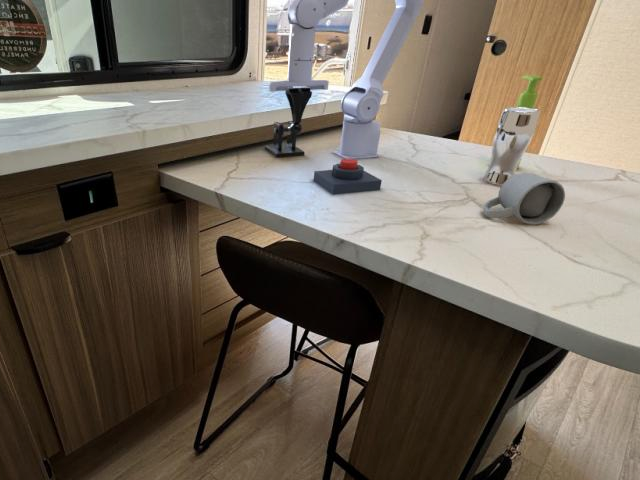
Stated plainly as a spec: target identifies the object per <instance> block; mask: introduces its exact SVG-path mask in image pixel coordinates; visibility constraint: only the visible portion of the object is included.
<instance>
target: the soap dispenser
mask: <svg viewBox="0 0 640 480" xmlns="http://www.w3.org/2000/svg"><path fill="white" fill-rule="evenodd" d="M521 79H522V80H529V81H528V83H527V86H526V89H525V90H524V91H523V92H520V94H519V98H518V100H517V104H516V106H515V107H525V108H533V109H534V106H535V103H536V101H537V98H538V95H539V93H537V91H536V88H537V86H538V82H542V81H543V77H541V76H539V75H523V76H521ZM521 161H522V158H521V159H520V161H519V163H518V165H517V168H516V171H517V170H518V169H519V166H520V163H521Z"/></svg>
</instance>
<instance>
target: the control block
mask: <svg viewBox="0 0 640 480" xmlns="http://www.w3.org/2000/svg"><path fill="white" fill-rule="evenodd" d="M313 172H314V173H313V182H315V184H317V185H319V186H320V187H322V188H323V189H324V190H325V191H327V192H328V193H330V194H331V195H333V196H334V195H344V194H354V193H356V194H357V193H364V192H365V193H366V192H374V191H376V192H377V191H380V190H381V187H382V181H383V180H382V179H380V178H378V177H377V176H375V175H373V174H371V173H369V172H367V171H366V170H365V167H364V166H362V165H361V164H357V169H356V170H344V169H340V163H336V164H333V165H332V169H325V170H315V171H313Z"/></svg>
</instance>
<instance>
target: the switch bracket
mask: <svg viewBox="0 0 640 480" xmlns="http://www.w3.org/2000/svg"><path fill="white" fill-rule="evenodd" d="M293 123H294V122H293V120H292V121H291V120H288V121H287V125H292V124H293ZM283 125H284V124H282V123H280V122H278V121H273V141H272V144H265V145H264V150H265V151H266V152H267V153H269V154H270V155H272V156H273V157H275V158H277V159H279V158H292V157H305V151H304V150H302V149H300V148H299V147H297V146H296V144H297V135H294V134H292V133H291V134H290V135H286V143H283V135H282V133H283Z"/></svg>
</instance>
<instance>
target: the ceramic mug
mask: <svg viewBox="0 0 640 480" xmlns="http://www.w3.org/2000/svg"><path fill="white" fill-rule="evenodd" d="M565 198H566V191H565V188H564V185H562V183H560V182H558V181H556V180H553V179H550V178H548V177H544V176H541V175H539V174H536V173H533V172H532V173H531V172H520V173H515V175H513V176H511V177H510V178H508V179H507V180H506V181H505V182H504V183H503V185H502V186H500V188H499V190H498V194H497V196H496V197H494V198H492V199H490V200H487V201H486V202H485V203H484V204H483V205H482V210H483V215H484V216H485V217H487V218H489V219H503V218H507V217H511V216H513V217H515V218H516V219H517V220H519V221H520V222H522V223H524V224H527V225H540V224H543V223H546V222H547V221H550V220H551V219H552V218H553V217H555V216H556V214H557V213H559V211H560V210H561V208H562V206H563V205H564V202H565ZM498 205H500V206H501V207H502V209H492V210H491V208H493V207H497V206H498Z"/></svg>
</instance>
